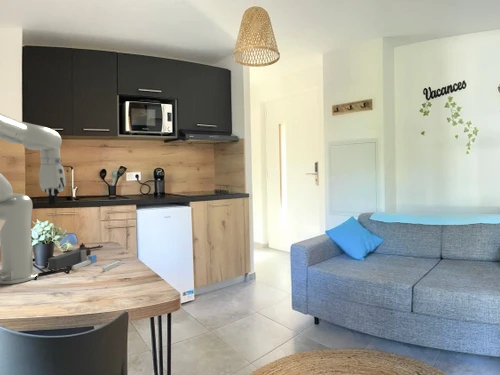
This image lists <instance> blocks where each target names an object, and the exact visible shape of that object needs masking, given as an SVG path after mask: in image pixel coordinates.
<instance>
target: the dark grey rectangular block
mask: <svg viewBox="0 0 500 375" xmlns="http://www.w3.org/2000/svg"><path fill="white" fill-rule="evenodd" d="M75 249H76V250H75ZM75 249H72V250H73V251H71V252H67V253H62V254H59V255H55V256H52V257H49V258H48V259H47V261H48V262H47V263H48V267H47V268H48V271H49V270H50V269H54V270H57V269H61V268H65V267H66V266H71V267H73V266H74V265H76V264H79V263H82V262H84V261H87V260H88V259H87V256H88V255H87V253H86V250H81V249H78V248H75ZM65 269H66V268H65Z"/></svg>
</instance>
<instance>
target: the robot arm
mask: <svg viewBox="0 0 500 375" xmlns="http://www.w3.org/2000/svg"><path fill="white" fill-rule="evenodd" d="M0 140H1V141H4V142H7V143H10V144H16V145H22V146H23V147H24V148H25V149H27V150H29V151H39V152H40V155H39V156H40V168H39V177H38V180H39V187H40V188H41V191H42V192H44V193H45V194H46V196H48V197H47V198H48V205H49V206H55V205H58V196H59V193H60V192H63V191H64V190H65V188H66V186H67V181H66V175H65V174H66V173H65V171H64V169H65V168H64V166H63V165H61V164H62V162H63V161H62V159H61V146H62V143H63V139H62V137H61V135H60V134H59V132H57V131H56V130H54V129H51V128H49V127H46V126H43V125H38V124H33V123H29V122H25V121H19V120H17V119H14V118H11V117H9V116H7V115H5V114H2V113H0ZM13 189H14V188H13V186H12V185H11V183H10V182H9V180H8V179H7V178H6V177H5V176H4V175H3V174H2V173H1V172H0V221H4V223H3V224H2V226H1V227H0V261H1V269H0V284H1V285H12V284H20V283H25V282H30V281H32V280H34V279H36V278H37V277H39V272H38V271H36V270H34V261H33V245H32V243H33V242H32V227H31V225H32V213H33V208H34V207H33V200H32V199H31V198H30V196H28V195H26V194H21V193H14V190H13ZM36 276H37V277H36ZM35 277H36V278H35Z"/></svg>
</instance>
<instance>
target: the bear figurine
mask: <svg viewBox="0 0 500 375" xmlns="http://www.w3.org/2000/svg"><path fill="white" fill-rule="evenodd" d="M103 247H104V246H103V245H101V244H99V245H97V246H91V247H89V246H86V245H85V244H84V243H83V242H82V243H81V244H79V247H78V248H75V249H66V250H67V251H66V250H63V251H62V254H65V253H68V252H71V251H73V250H76V249H81V250H86V256H90V255H91V254H92V250H94V249H95V250H96V249H100V248H101V249H102V248H103Z"/></svg>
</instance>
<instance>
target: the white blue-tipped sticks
mask: <svg viewBox="0 0 500 375" xmlns="http://www.w3.org/2000/svg"><path fill="white" fill-rule="evenodd" d="M87 256H88V259H87V261H84V262H82V263H79V264H76V265H73V266H72V270H73V271H74V270H77V269H80V268H83V267H86V266H87V265H90V264H93V263H96V262H97V254H90V255H87ZM121 264H122V263H121V260H117V261H115V262H113V263H110V264H108V265H105V266H104V267H102V272H107V271H110V270H111V269H114V268H116V267H118V266H120V265H121Z"/></svg>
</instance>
